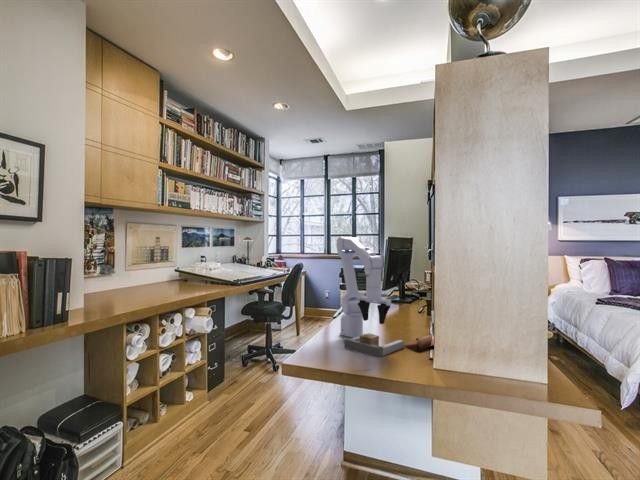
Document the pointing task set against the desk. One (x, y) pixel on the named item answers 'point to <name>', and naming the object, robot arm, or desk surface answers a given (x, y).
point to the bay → (372, 346)
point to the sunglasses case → (419, 343)
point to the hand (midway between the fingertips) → (373, 321)
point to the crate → (370, 339)
